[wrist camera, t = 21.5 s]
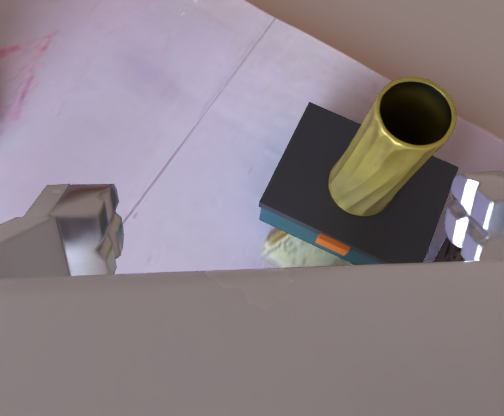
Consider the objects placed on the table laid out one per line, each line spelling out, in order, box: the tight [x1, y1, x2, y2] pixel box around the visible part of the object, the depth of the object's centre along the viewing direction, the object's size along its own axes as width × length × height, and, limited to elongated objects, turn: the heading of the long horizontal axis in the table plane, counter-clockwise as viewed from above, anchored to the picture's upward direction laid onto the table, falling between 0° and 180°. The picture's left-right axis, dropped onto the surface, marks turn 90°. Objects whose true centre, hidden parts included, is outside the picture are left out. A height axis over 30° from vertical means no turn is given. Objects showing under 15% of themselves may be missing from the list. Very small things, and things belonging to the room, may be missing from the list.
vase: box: [329, 77, 456, 216], centre depth 37 cm, size 6×6×14 cm
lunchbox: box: [259, 102, 458, 265], centre depth 47 cm, size 15×12×6 cm
